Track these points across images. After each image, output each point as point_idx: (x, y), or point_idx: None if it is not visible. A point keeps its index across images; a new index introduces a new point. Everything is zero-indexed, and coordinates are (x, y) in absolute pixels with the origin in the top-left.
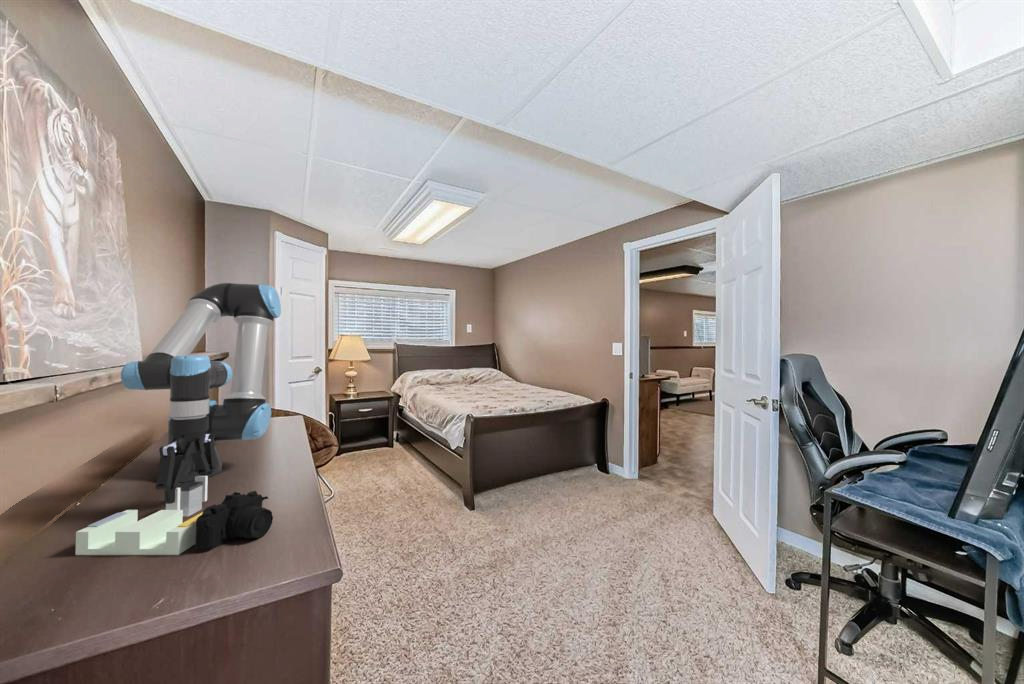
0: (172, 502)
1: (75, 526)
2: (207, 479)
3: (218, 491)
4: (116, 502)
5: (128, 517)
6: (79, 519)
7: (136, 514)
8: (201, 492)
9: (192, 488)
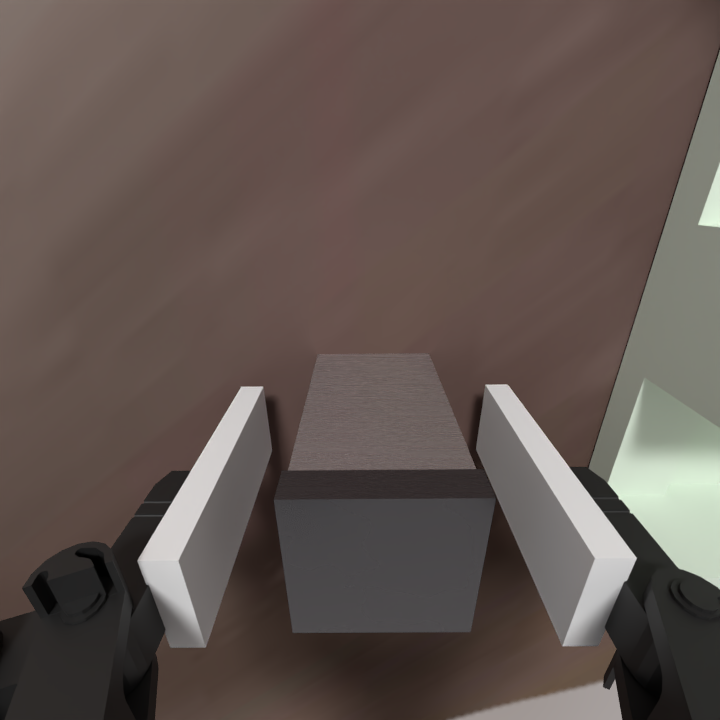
0: (577, 470)
1: (491, 676)
2: (167, 516)
3: (44, 456)
4: (279, 712)
5: (712, 555)
6: (430, 702)
7: None
8: (310, 423)
9: (443, 479)
